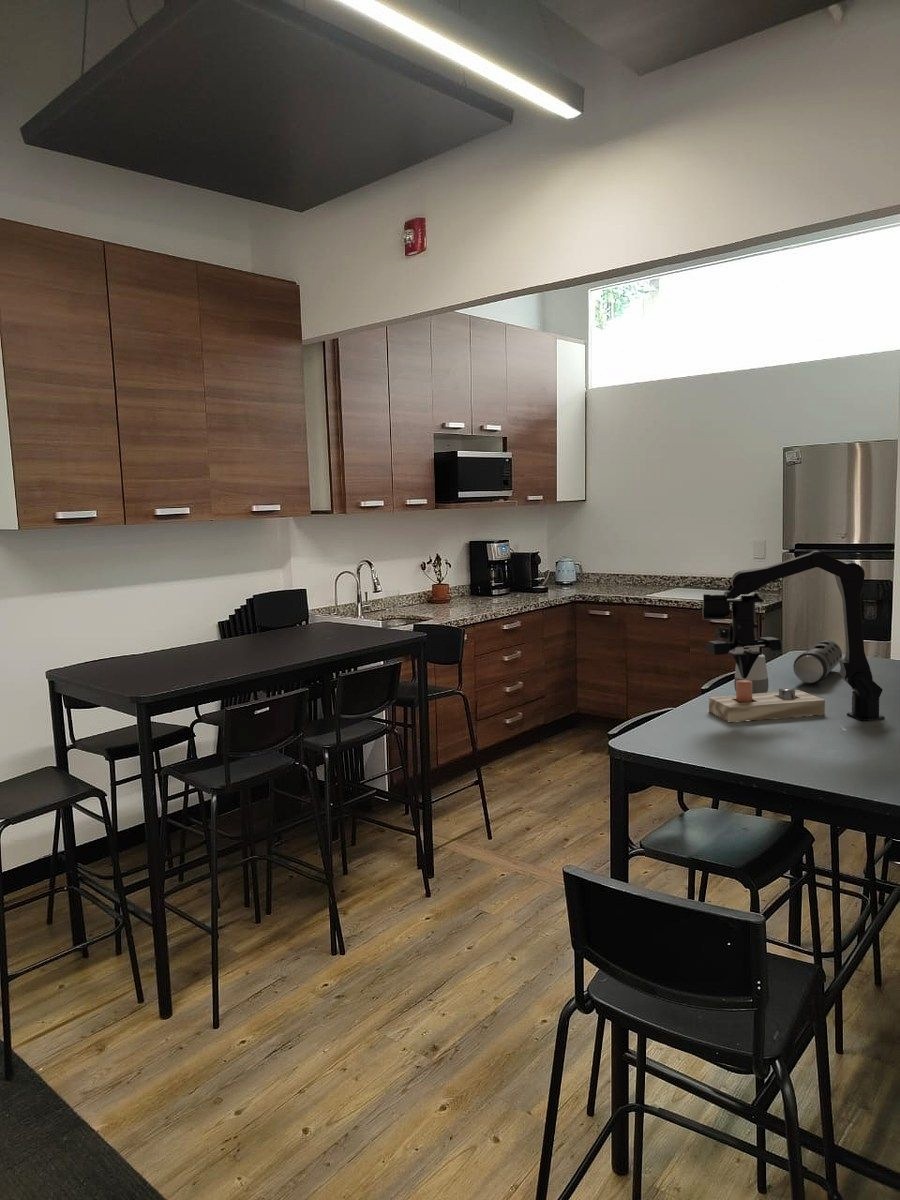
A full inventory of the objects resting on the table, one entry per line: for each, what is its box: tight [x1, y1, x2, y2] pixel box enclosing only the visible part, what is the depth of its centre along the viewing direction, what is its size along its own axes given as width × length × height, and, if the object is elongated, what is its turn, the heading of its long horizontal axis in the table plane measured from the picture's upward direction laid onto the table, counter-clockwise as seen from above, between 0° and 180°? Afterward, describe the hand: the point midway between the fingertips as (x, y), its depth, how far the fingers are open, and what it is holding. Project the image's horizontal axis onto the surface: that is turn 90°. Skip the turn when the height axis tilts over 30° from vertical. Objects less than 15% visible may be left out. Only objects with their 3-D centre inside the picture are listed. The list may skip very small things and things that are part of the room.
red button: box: [735, 680, 752, 703], centre depth 214 cm, size 4×4×6 cm
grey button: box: [778, 687, 796, 700], centre depth 216 cm, size 4×4×6 cm
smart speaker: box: [733, 653, 769, 694], centre depth 234 cm, size 10×9×14 cm
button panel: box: [708, 689, 826, 723], centre depth 215 cm, size 12×26×4 cm, turn 98°
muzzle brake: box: [793, 640, 843, 685], centre depth 253 cm, size 10×28×10 cm, turn 145°
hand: (744, 678), depth 213 cm, fingers closed
